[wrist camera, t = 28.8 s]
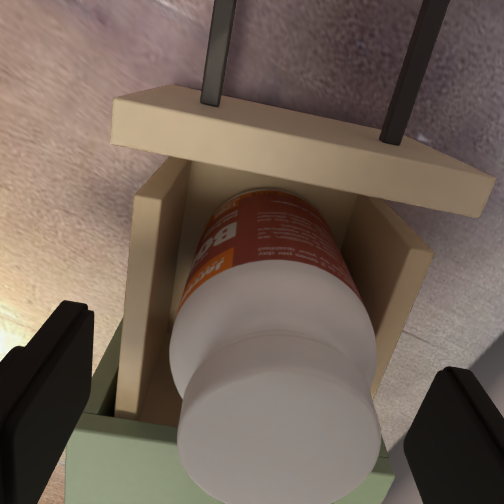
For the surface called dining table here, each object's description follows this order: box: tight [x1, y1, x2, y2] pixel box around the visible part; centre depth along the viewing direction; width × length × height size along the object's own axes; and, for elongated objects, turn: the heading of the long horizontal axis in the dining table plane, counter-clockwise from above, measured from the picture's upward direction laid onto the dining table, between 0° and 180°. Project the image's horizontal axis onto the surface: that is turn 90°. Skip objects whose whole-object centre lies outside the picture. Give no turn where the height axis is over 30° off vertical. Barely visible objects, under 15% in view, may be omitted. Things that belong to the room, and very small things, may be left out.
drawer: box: [110, 0, 496, 427], centre depth 16 cm, size 19×10×8 cm, turn 168°
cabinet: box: [64, 318, 395, 504], centre depth 21 cm, size 14×12×10 cm
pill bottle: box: [169, 189, 381, 504], centre depth 14 cm, size 6×6×11 cm
